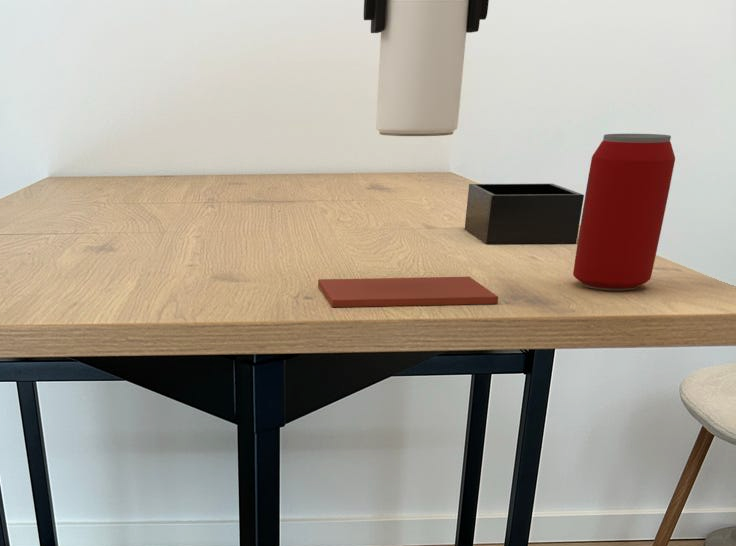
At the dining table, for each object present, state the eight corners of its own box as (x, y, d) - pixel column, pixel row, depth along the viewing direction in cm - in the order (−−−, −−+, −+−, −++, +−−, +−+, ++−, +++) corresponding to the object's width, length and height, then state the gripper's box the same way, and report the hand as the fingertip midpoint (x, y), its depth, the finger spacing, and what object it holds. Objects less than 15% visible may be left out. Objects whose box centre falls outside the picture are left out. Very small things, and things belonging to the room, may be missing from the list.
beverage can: (623, 277, 88) (650, 132, 82) (664, 290, 82) (697, 136, 76) (557, 280, 87) (580, 133, 81) (594, 294, 81) (622, 138, 75)
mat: (468, 283, 86) (469, 276, 86) (497, 304, 78) (498, 296, 78) (317, 286, 85) (318, 279, 85) (332, 307, 77) (332, 299, 77)
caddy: (576, 243, 105) (584, 194, 103) (486, 244, 105) (491, 195, 103) (546, 228, 116) (553, 183, 113) (464, 228, 116) (469, 184, 113)
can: (468, 135, 73) (486, -55, 67) (388, 137, 72) (399, -56, 66) (441, 131, 78) (456, -46, 72) (366, 132, 78) (375, -46, 71)
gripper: (321, -307, 59) (313, 31, 68) (594, -308, 59) (549, 29, 68) (314, -270, 65) (307, 34, 75) (560, -271, 66) (523, 33, 75)
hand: (423, 29), depth 72 cm, fingers closed on can, 6 cm apart
